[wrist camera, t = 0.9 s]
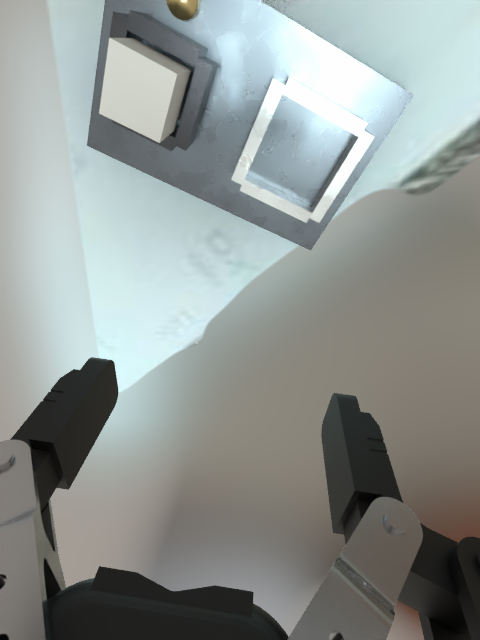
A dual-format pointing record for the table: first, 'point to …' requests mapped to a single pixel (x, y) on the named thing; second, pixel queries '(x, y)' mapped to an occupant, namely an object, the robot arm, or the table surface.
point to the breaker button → (142, 88)
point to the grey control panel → (252, 112)
